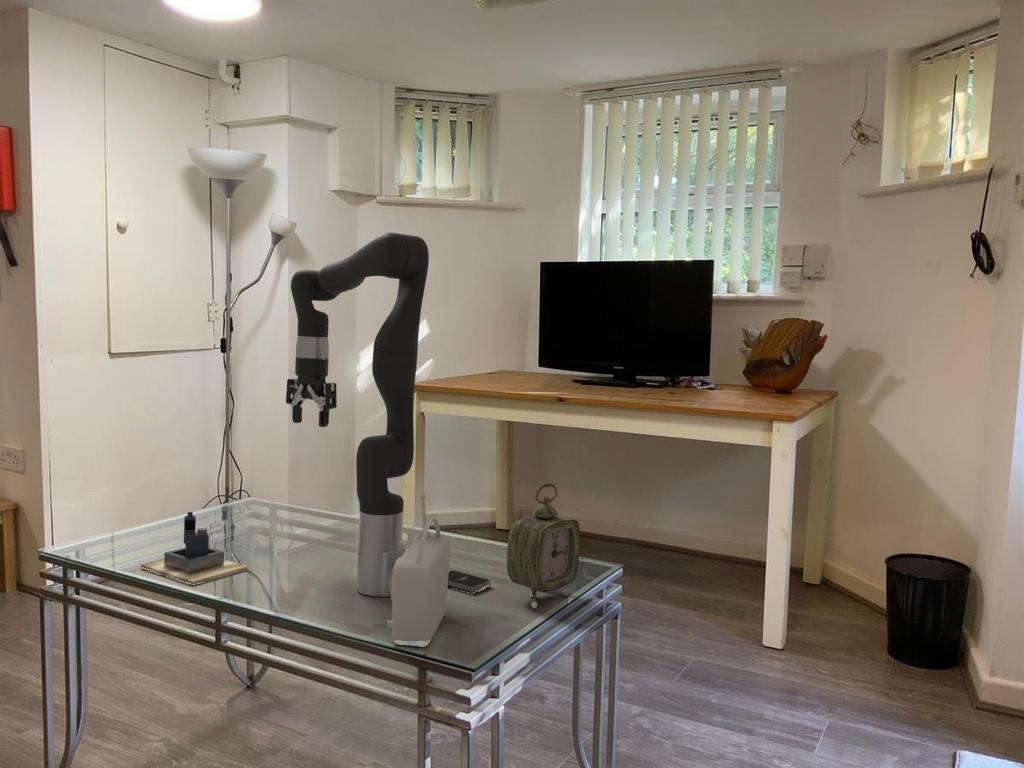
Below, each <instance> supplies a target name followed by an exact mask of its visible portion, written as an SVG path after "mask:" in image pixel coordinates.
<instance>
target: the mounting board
mask: <svg viewBox="0 0 1024 768" xmlns="http://www.w3.org/2000/svg"><path fill="white" fill-rule="evenodd" d="M141 567H144V568H146V569H149V570H151V571H154V572H157V573H159V574H162V575H165V576H168V577H172V578H174V579H178V580H181V581H184V582H188V583H191V584H197V583H201V582H205V583H208V582H207V581H209V582H212V581H215V579H216V580H218V579H219V580H220V579H223V578H225V577H226V578H227V577H229V576H232V575H236V574H239V573H243V572H246V571H248V570H247V569H248V566H247V565H244V564H242V563H239V562H234V561H232V560H227V559H225V558H224V565H221V566H217V567H214V568H210V569H206V570H203V571H199V572H195V573H192V574H188V573H185V572H182V571H178V570H175V569H172V568H169V567H166V566H164V558H162V559H159V560H157V559H156V560H153V561H150V562H145V563H142V564H140V568H141ZM211 580H212V581H211Z"/></svg>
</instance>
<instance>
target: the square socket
mask: <svg viewBox="0 0 1024 768" xmlns="http://www.w3.org/2000/svg"><path fill="white" fill-rule="evenodd" d="M185 552H186V547H183V548H178V549H174V550H168V551H165V552H164V557H163V559H164V566H166V567H169V568H172V569H175V570H178V571H182V572H185V573H188V574H192V573H195V572H199V571H203V570H206V569H210V568H214V567H217V566H221V565H224V559H225V551H223V550H220V549H216V548H212V547H210V546H209V554H207V555H203V556H199V557H195V558H188V557H185Z"/></svg>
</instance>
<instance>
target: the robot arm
mask: <svg viewBox="0 0 1024 768" xmlns="http://www.w3.org/2000/svg"><path fill="white" fill-rule="evenodd" d="M429 256H430V253H429V249H428V245H427V242H426V241H425V240H424V238H422V237H421V236H417V235H411V234H405V233H404V234H403V233H399V232H398V233H397V232H385V233H381V234H380V235H377V236H376V237H375V238H373V239H371V240H370V241H369V242H367V243H366V244H365V245H363V246H362V247H360V248H359V249H357V250H356V251H355V252H353V253H351V254H349V255H348V256H345V257H343V258H340V259H338V260H334V261H332V262H329V263H327V264H326V265H324V266H323V267H321V269H320V270H315V269H306V268H305V269H304V268H303V269H298V270H296V271H295V273H293V276H292V277H291V281H290V289H291V290H290V291H291V295H292V299H293V303H294V304H293V305H294V308H295V313H296V316H297V337H296V342H295V343H296V344H295V362H294V363H295V367H294V369H295V371H294V375H296V376H297V378H288V379H287V380H286V393H285V394H286V395H285V404H287V405H290V406H291V408H292V409H291V410H292V413H291V418H292V422H293V423H294V424H301V423H302V421H303V407H302V406H303V404H304V403H305V402H306V401H307V400H310V401H313V402H314V403H315V404H317V407H318V408H319V412H318V426H319V427H320V428H326V427H328V425H329V423H330V422H329V421H330V411H331V410H333V409H336V408H337V407H338V405H337V403H338V402H337V401H338V400H337V398H338V397H337V396H338V395H337V383H336V382H327V381H326V379H327V377H328V376H329V360H330V359H329V358H330V357H329V353H330V344H329V325H330V324H329V322H330V321H329V320H330V319H329V316H328V314H327V313H326V312H324V311H320V310H318V309H316V308H315V306H314V304H313V301H315V302H328V301H329V302H330V301H333V300H335V299H336V298H337V297H338V296H340V295H341V294H342V293H346V292H347V291H351V290H353V289H356V288H357V287H359V286H360V285H362V284H363V282H364V281H365V279H366V278H369V277H386V278H389V279H395V280H398V287H397V288H398V289H397V294H396V299H395V303H394V305H393V307H392V309H391V311H390V313H389V315H387V317H386V319H385V320H384V322H383V323H382V325H381V327H380V328H379V330H378V332H377V333H376V336H375V339H374V343H373V349H372V363H371V364H372V365H371V366H372V368H371V372H372V373H371V374H372V376H373V380H374V383H375V385H376V388H377V389H378V392H379V393H380V395H381V398H382V400H383V404H384V406H385V409H386V432H385V434H382V435H373V436H367V437H365V438H362V440H361V441H360V442H359V444H358V446H357V447H358V448H357V449H356V450H357V451H356V459H355V461H356V462H355V464H356V465H355V469H356V495H357V499H358V503H359V511H358V512H359V513H358V516H359V517H358V539H357V540H358V542H357V543H358V544H357V548H358V549H357V564H356V565H357V569H356V570H357V571H356V574H357V575H356V576H357V577H356V591H357V592H358V593H360V594H362V595H364V596H369V597H383V598H388V597H391V581H392V574H393V568H394V565H395V563H396V560H397V559H398V558H401V556H402V555H403V554H404V553H405V552H406V550H407V548H406V546H404V545H403V528H404V527H403V526H404V525H403V524H404V503H405V502H404V498H403V497H402V496H401V495H400V494H397V493H393V492H390V490H389V488H388V479H393V478H400V477H403V476H405V475H407V474H408V473H409V472H410V471H411V469H412V466H413V464H414V463H413V462H414V457H415V455H414V453H415V436H414V435H415V434H414V433H415V430H414V405H415V404H414V403H415V402H414V401H415V387H416V386H415V385H416V373H417V366H418V352H419V335H420V334H419V333H420V324H421V316H422V315H421V314H422V304H423V299H424V294H425V289H426V288H425V287H426V282H427V277H428V270H429V265H430V263H429V262H430V261H429V260H430V257H429Z"/></svg>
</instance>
